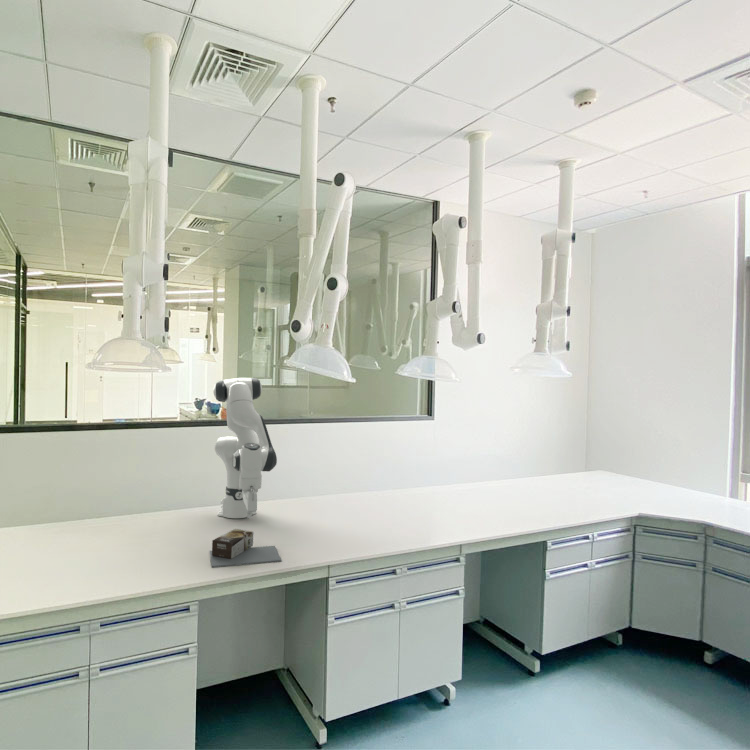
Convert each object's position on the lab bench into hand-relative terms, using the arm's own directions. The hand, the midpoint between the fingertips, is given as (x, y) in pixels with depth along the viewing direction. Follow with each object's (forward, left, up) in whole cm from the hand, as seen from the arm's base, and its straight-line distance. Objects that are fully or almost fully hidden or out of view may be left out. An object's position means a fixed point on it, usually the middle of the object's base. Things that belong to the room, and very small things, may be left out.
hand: (249, 517), depth 212 cm
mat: (+8, -2, -13) cm, 16 cm away
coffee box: (-4, -1, -10) cm, 10 cm away
